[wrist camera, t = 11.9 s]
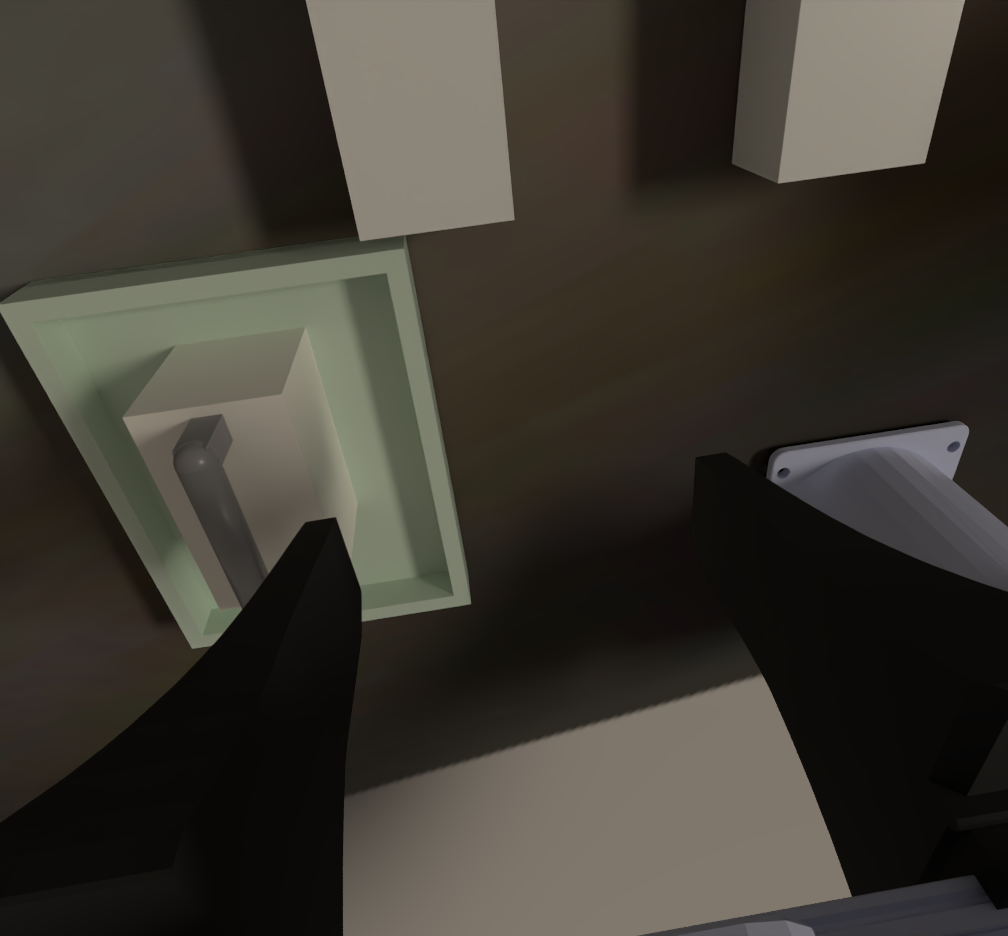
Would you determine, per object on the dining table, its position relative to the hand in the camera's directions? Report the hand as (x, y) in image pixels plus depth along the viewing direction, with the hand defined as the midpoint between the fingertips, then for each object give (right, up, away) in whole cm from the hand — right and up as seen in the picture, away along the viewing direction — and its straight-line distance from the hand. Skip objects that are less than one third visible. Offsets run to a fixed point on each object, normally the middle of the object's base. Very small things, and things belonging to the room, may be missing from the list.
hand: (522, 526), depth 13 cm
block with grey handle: (-8, +2, +9) cm, 12 cm away
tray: (-8, +2, +10) cm, 13 cm away
